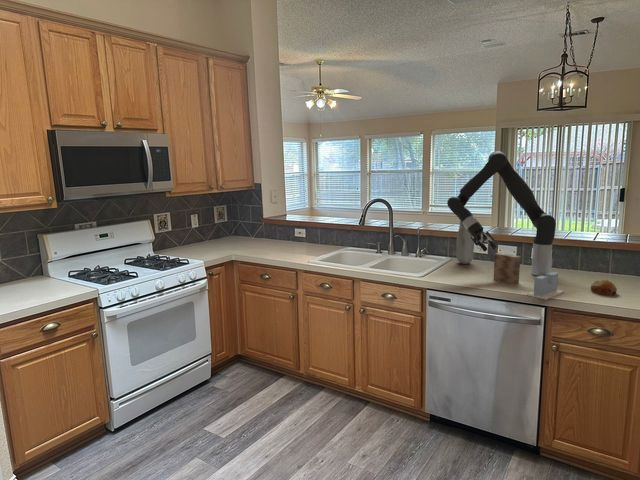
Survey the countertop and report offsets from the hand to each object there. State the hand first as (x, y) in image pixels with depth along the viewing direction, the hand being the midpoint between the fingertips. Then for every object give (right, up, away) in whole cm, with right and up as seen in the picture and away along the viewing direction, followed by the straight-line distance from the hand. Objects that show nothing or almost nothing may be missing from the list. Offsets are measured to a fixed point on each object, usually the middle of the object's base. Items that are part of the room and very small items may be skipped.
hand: (490, 249), depth 227 cm
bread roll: (+43, -20, -27) cm, 54 cm away
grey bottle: (-2, -10, +35) cm, 37 cm away
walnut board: (+6, -17, -5) cm, 18 cm away
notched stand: (+15, -20, -27) cm, 37 cm away
